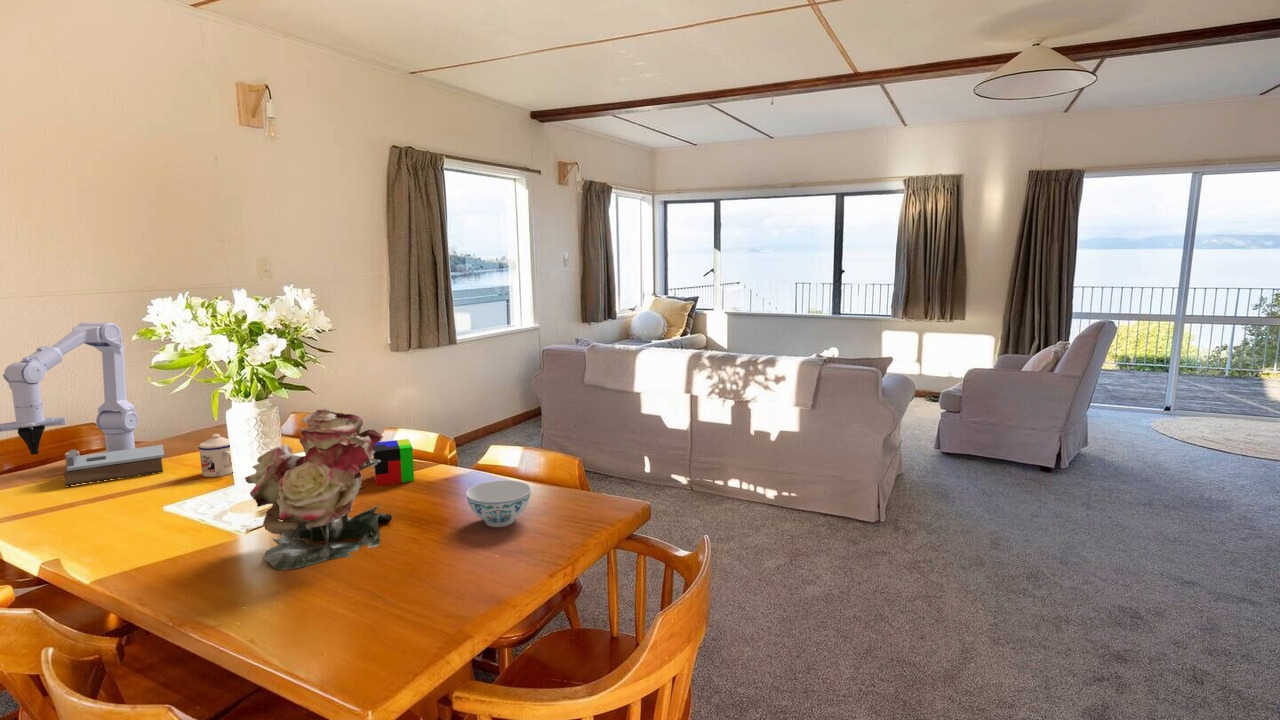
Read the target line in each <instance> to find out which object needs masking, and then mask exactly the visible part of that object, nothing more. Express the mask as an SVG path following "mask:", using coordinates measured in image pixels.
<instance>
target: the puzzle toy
mask: <svg viewBox="0 0 1280 720" xmlns="http://www.w3.org/2000/svg"><path fill="white" fill-rule="evenodd" d="M372 449H374V451H376V452H375V453H374V454H373V455H372V459H376V460H380V461H381V462H380V463H377V465H375V466H373V474H374V476H375V477H374V480H375V485H376V487H379V485H381V486H386V485H385V484H388V485H393V484H392V483H396V484H401V483H400V482H403V483H407V482H406V481H411V482H415V472H414V471H415V470H414V469H415V468H414V467H415V466H414V452H413V446H412V443H411V441H410V439H409V438H408V439H407V438H406V439H405V438H404V439H396V440H394V439H393V440H385V441H379V442H377V443H376V445H375V446H374V447H372ZM389 461H390V462H389Z"/></svg>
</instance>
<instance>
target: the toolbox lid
mask: <svg viewBox="0 0 1280 720" xmlns="http://www.w3.org/2000/svg"><path fill="white" fill-rule="evenodd" d="M76 451H77V449H70V450H69V451H68V452H69V454H68V457H67V460H68V466H67V471H71V470H78V469H85V468H92V467H99V466H106V465H113V464H120V463H127V462H134V461H141V460H148V459H155V458H161V459H162V458H165V451H164V444H157V445H151V446H143V447H135V448H134V449H127V450H119V451H112V452H107V451H106V452H98V453H90V454H84V455H80V456H76ZM105 458H106V459H105ZM98 459H103V460H98ZM91 460H96V461H91ZM87 461H88V462H87Z"/></svg>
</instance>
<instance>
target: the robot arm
mask: <svg viewBox="0 0 1280 720" xmlns="http://www.w3.org/2000/svg"><path fill="white" fill-rule="evenodd" d="M83 344H85V345H87V346H91V347H93V348H95V349H97V350H98V351H99V352H101V357H102V375H103V376H102V378H103V394H104V402H103V403H102V404H101V405H100V406H98V408H97V416H96V419H95V424H96V426H97V429H99V430H101V433H103V434H104V439H105V440H104V442H105V443H104V444H105V451H106V452H112V451H119V450H127V449H134V448H136V444H135V443H136V442H135V436H134V434H135V433H134V431H135V430H136V428H137V426H138V425H139V421H140V420H139V419H140V418H139V416H138V414H137V410H136V406H135V405H134V404H132V403H130V401H128V400H127V398H128V397H127V383H126V362H125V345H124V342H123V331H122V328H121V327H120V326H119V325H117V324H116V323H114V322H87V321H85V322H80V323H78V324H77V325H76V326H73V327H72V330H71V331H69V333H67V334H66V335H64V337H62V338H61V339H59V340H58V341H57V342H55V343H54V344H53V345H51V346H48V345H46V346H39V347H37V348H35V349H36V351H34V352H33V353H31V354H30V355H28V356H25V357H23V358H22V360H21V361H19V362H12V363H10V364H9V365H8V366H6V368H4V369H5V370H4V373H3V374H2V377H3V379H4V381H6V383H8V388H9V389H10V390H11V395H12V401H13V402H12V403H13V408H14V415H15V421H12V422H5V423H3V422H2V423H0V433H1V432H8V431H10V432H11V431H17V434H18V436H19V437H20V438H21V439H22V440H23V442H24V443H25V444H26V446H27V448H28V450H29V453H30V455H32V456H33V455H39V448H40V443H41V439H42V435H43V434H44V431H45V429H46V428H47V427H55V426H56V427H57V426H66V425H67V421H66V420H67V419H66V417H65V416H64V417H49V418H45V414H44V408H43V400H42V393H41V384H40V382H42V381H43V380H44V377H45V375H46V373H47V372H48V371H49V370H51V369H53V368H54V367H56V366H57V365H58V364H60V363H61V362H62V361H63V356H64V355H65V354H67V353H69V352H72V351H73V350H74V349H76V348H77V347H79V346H81V345H83Z"/></svg>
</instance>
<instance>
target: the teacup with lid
mask: <svg viewBox="0 0 1280 720" xmlns="http://www.w3.org/2000/svg"><path fill="white" fill-rule="evenodd" d="M229 439H230V438H226V437H224V436H221V435H220V434H219V433H214V434H212V435H211V438H209V439H207V440H206V441H204V442H202V443H200V444H199V445H198V449H199V455H200V464H201V465H200V468H201V475H202V476H203V477H205V478H217V477H223V476H227V475H231V474H233V473H232V462H231V452H230V445H229Z"/></svg>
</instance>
